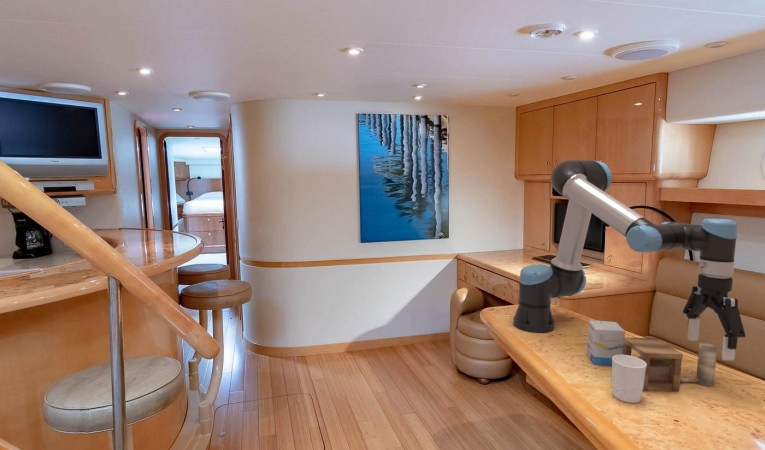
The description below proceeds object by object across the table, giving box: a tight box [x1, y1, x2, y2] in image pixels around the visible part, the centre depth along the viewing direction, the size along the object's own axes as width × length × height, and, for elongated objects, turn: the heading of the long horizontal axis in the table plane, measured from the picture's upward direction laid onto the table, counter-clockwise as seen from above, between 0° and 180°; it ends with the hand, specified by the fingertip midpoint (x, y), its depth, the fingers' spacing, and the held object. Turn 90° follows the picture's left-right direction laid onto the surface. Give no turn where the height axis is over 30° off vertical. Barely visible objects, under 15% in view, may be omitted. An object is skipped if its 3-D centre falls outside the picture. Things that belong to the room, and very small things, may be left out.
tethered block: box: [637, 342, 718, 387], centre depth 120 cm, size 6×20×11 cm, turn 88°
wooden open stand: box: [623, 337, 684, 393], centre depth 121 cm, size 11×10×11 cm
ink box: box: [586, 320, 626, 367], centre depth 135 cm, size 8×8×12 cm
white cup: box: [611, 355, 647, 404], centre depth 113 cm, size 8×8×10 cm
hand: (709, 349), depth 119 cm, fingers open, 13 cm apart
